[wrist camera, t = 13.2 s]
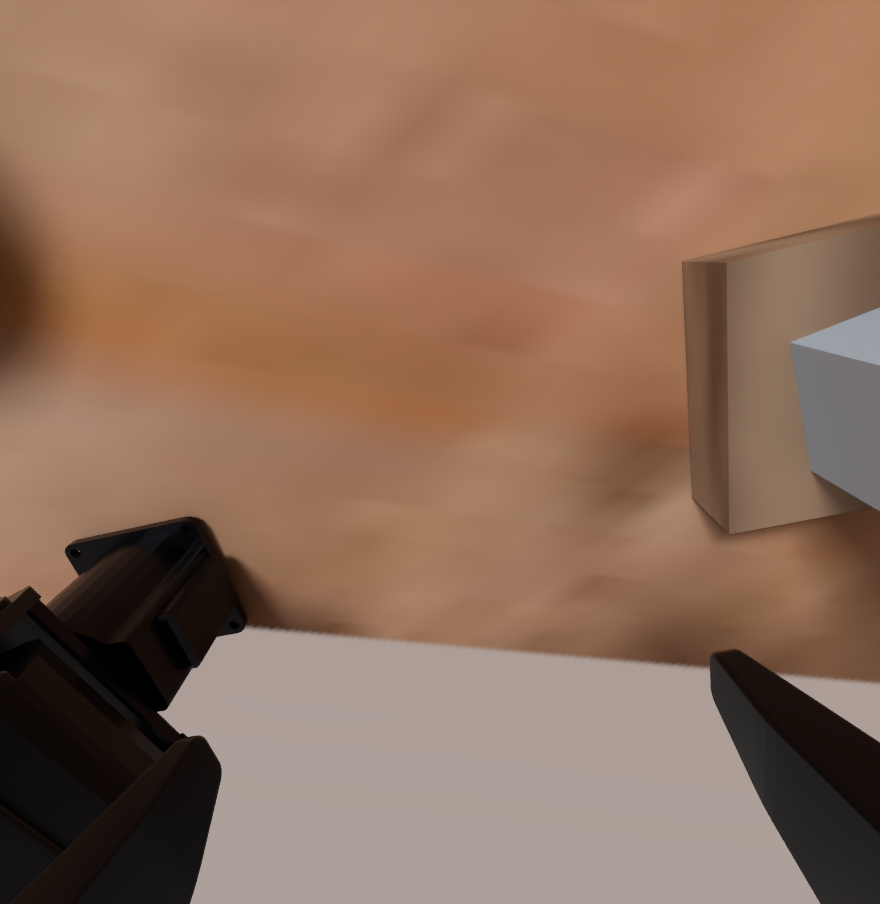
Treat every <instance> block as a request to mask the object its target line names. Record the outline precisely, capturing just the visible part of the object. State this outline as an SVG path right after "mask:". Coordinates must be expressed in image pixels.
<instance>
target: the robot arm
mask: <svg viewBox="0 0 880 904" xmlns="http://www.w3.org/2000/svg"><path fill="white" fill-rule="evenodd" d="M186 526H188V527H190V528H191V529H192V531H190V530H188V529H187V528H186ZM78 550H79V551H80V552H81V553H80V552H79V551H78ZM65 553H66V556H67V558H68V559H69V561H70V562H71V564H72V565H73V567H74V569H75V570H76V572H77V573H78V575H79V577H78V578H77V579H76V580H74V581H73V582H72V583H71V584H70V585H69V586H68V587H66V588H65V589H64V590H63V591H62V592H61V593H60V594H58V595H57V596H56V597H55V598H54V599H53V600H52V601H50V602H49V603H48V604H47V605H46V606H45V605H44V604H43V603H42V602H41V601H40V600H39V599H40V598H41V596H40V595H39V594H38V593H37V592H36V591H35V590H34V589H33V588H31V587H30V586H28V587H26V588H24V589H22V590H20V591H19V592H17V593H15V594H13V595H11V596H9V597H6V596H5V597H2V598H1V597H0V904H190V902H191V898H192V895H193V892H194V889H195V885H196V882H197V878H198V874H199V870H200V867H201V863H202V859H203V854H204V850H205V846H206V842H207V837H208V833H209V829H210V824H211V820H212V816H213V812H214V807H215V803H216V799H217V794H218V790H219V786H220V781H221V765H220V762H219V761H218V759H217V757H216V755H215V754H214V752H213V751H212V749H211V747H210V745H209V744H208V742H207V740H206V739H205V738H204V737H202V736H192V737H187V736H186V735H185V734H183V733H182V734H179V733H178V732H177V731H176V730H175V729H174V728H173V727H172V726H171V725H170V724H169V723H168V722H167V721H166V720H165V719H164V718H163V717H162V716H161V715H159V714H158V713H157V712H158V711H164V710H166V709H167V708H168V706H169V705H170V703H171V701H172V700H173V698H174V696H175V695H176V693H177V692H178V690H179V689H180V687H181V685H182V684H183V682H184V680H185V679H186V677H187V676H188V674H189V672H190V670H191V669H192V668H197V667H198V666H199V665H200V663H201V662H202V660H203V658H204V657H205V655H206V653H207V652H208V650H209V648H210V647H211V645H212V643H213V642H214V640H215V638H216V637H218V636H224V635H229V634H235V633H239V632H242V630H244V628H245V626H246V624H247V621H248V620H247V617H246V615H245V613H244V611H243V609H242V607H241V605H240V602H239V600H238V596H237V594H236V592H235V590H234V588H233V586H232V584H231V582H230V580H229V578H228V576H227V574H226V572H225V570H224V568H223V566H222V564H221V562H220V559H219V558H218V557H217V555H216V553H215V551H214V549H213V547H212V545H211V543H210V541H209V539H208V537H207V535H206V533H205V531H204V529H203V527H202V525H201V523H200V522H199V520H197V519H196V518H194V517H182V518H178V519H173V520H168V521H163V522H159V523H154V524H149V525H145V526H140V527H135V528H130V529H126V530H121V531H116V532H112V533H107V534H102V535H97V536H93V537H88V538H83V539H79V540H75V541H73V542H72V543H71V544H69V545H68V546H67V547H66V549H65ZM234 621H236V622H238V623H235V622H234ZM710 678H711V692H712V696H713V699H714V702H715V704H716V706H717V708H718V710H719V713H720V715H721V717H722V719H723V721H724V723H725V725H726V727H727V730H728V732H729V734H730V736H731V738H732V740H733V742H734V745H735V747H736V749H737V751H738V753H739V755H740V757H741V760H742V762H743V764H744V766H745V768H746V770H747V772H748V774H749V777H750V779H751V781H752V783H753V785H754V787H755V789H756V791H757V793H758V795H759V797H760V799H761V801H762V804H763V805H764V807H765V809H766V811H767V813H768V815H769V816H770V818H771V820H772V822H773V823H774V825H775V827H776V829H777V830H778V832H779V834H780V835H781V837H782V839H783V840H784V842H785V844H786V846H787V847H788V849H789V851H790V852H791V854H792V856H793V858H794V859H795V861H796V863H797V864H798V866H799V868H800V869H801V871H802V873H803V875H804V876H805V878H806V880H807V881H808V883H809V885H810V887H811V888H812V890H813V891H814V893H815V895H816V897H817V899H818V900H819V902H820V904H880V742H878V741H877V740H875V739H874V738H872V737H871V736H869V735H868V734H866V733H865V732H863V731H861V730H860V729H859V728H857V727H856V726H854V725H853V724H851V723H849V722H848V721H846V720H845V719H843V718H842V717H840V716H839V715H837V714H836V713H834V712H833V711H831V710H829V709H828V708H827V707H825V706H824V705H822V704H821V703H819V702H818V701H816V700H815V699H813V698H812V697H810V696H809V695H807V694H805V693H804V692H802V691H801V690H799V689H798V688H796V687H795V686H793V685H792V684H790V683H789V682H787V681H786V680H784V679H783V678H781V677H780V676H778V675H777V674H775V673H774V672H772V671H771V670H769V669H768V668H766V667H765V666H763V665H761V664H760V663H758V662H757V661H755V660H754V659H752V658H751V657H749V656H748V655H746V654H745V653H743V652H742V651H739V650H736V649H730V650H724V651H718V652H714V653H712V654H711V656H710Z"/></svg>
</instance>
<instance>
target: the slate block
mask: <svg viewBox="0 0 880 904" xmlns="http://www.w3.org/2000/svg"><path fill="white" fill-rule="evenodd" d="M790 347H791V353H792V359H793V365H794V371H795V378H796V384H797V390H798V396H799V402H800V409H801V415H802V421H803V427H804V433H805V439H806V446H807V452H808V458H809V464H810V470H811V471H812V472H814V473H816V474H817V475H819V476H821V477H823V478H824V479H826V480H828V481H829V482H831V483H833V484H834V485H836V486H838V487H839V488H841V489H843V490H845V491H846V492H848V493H850V494H851V495H853V496H855V497H856V498H858V499H860V500H861V501H863V502H865V503H867V504H868V505H870V506H872V507H873V508H875V509H877V510H878V511H880V308H877V309H875V310H872V311H869V312H867V313H864V314H862V315H859V316H857V317H854V318H851V319H849V320H846V321H844V322H841V323H839V324H836V325H834V326H831V327H828V328H826V329H823V330H821V331H818V332H816V333H813V334H810V335H808V336H805V337H803V338H800V339H798V340H795V341H793V342H790Z"/></svg>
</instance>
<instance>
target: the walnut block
mask: <svg viewBox="0 0 880 904" xmlns="http://www.w3.org/2000/svg"><path fill="white" fill-rule="evenodd" d="M682 267H683V291H684V315H685V338H686V362H687V385H688V409H689V432H690V456H691V479H692V498H693V499H694V500H695V501H696V502H697V503H698V504H699V505H700V506H701V507H702V508H703V509H704V510H705V511H706V512H707V513H708V514H709V515H710V516H711V517H712V518H713V519H714V520H715V521H716V522H717V523H718V524H719V525H720V526H721V527H722V528H723V529H724V530H725V531H726V532H727V533H728V534H734V533H740V532H745V531H751V530H756V529H761V528H767V527H772V526H777V525H783V524H788V523H794V522H799V521H804V520H810V519H815V518H821V517H826V516H831V515H837V514H842V513H847V512H853V511H858V510H864V509H869V508H873V507H872V506H870V505H868V504H867V503H865V502H863V501H861V500H860V499H858V498H856V497H855V496H853V495H851V494H850V493H848V492H846V491H845V490H843V489H841V488H839V487H838V486H836V485H834V484H833V483H831V482H829V481H828V480H826V479H824V478H823V477H821V476H819V475H817V474H816V473H814V472H812V471H811V470H810V464H809V458H808V452H807V446H806V439H805V433H804V427H803V421H802V415H801V409H800V402H799V396H798V390H797V384H796V378H795V371H794V365H793V359H792V353H791V347H790V342H793V341H795V340H798V339H800V338H803V337H805V336H808V335H810V334H813V333H816V332H818V331H821V330H823V329H826V328H828V327H831V326H834V325H836V324H839V323H841V322H844V321H846V320H849V319H851V318H854V317H857V316H859V315H862V314H864V313H867V312H869V311H872V310H875V309H877V308H880V214H876V215H872V216H868V217H864V218H860V219H856V220H852V221H847V222H843V223H839V224H835V225H831V226H827V227H823V228H818V229H814V230H810V231H806V232H802V233H798V234H794V235H790V236H785V237H781V238H777V239H773V240H769V241H765V242H761V243H756V244H752V245H748V246H744V247H740V248H736V249H732V250H728V251H723V252H719V253H715V254H711V255H707V256H703V257H699V258H694V259H690V260H686V261H682Z"/></svg>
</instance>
